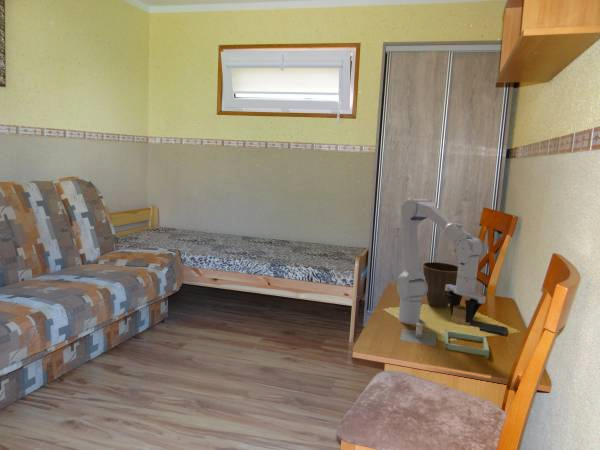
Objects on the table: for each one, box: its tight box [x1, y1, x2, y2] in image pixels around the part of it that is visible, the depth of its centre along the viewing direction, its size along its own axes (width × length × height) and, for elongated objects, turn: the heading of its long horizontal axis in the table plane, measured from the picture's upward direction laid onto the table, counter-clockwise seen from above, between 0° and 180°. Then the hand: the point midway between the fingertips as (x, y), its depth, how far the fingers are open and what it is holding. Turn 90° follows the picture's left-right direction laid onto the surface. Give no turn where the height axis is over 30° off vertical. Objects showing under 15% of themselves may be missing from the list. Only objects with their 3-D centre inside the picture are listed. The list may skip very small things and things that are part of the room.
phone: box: [465, 319, 509, 336], centre depth 175 cm, size 8×1×15 cm
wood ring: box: [451, 304, 470, 326], centre depth 154 cm, size 5×5×5 cm
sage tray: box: [444, 329, 490, 359], centre depth 155 cm, size 13×13×2 cm
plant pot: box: [422, 261, 458, 309], centre depth 197 cm, size 15×15×16 cm
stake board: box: [399, 322, 437, 347], centre depth 158 cm, size 11×11×5 cm
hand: (461, 318), depth 154 cm, fingers closed on wood ring, 5 cm apart
